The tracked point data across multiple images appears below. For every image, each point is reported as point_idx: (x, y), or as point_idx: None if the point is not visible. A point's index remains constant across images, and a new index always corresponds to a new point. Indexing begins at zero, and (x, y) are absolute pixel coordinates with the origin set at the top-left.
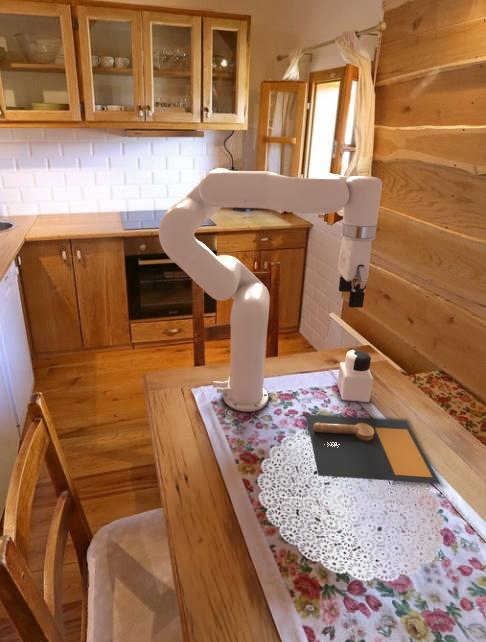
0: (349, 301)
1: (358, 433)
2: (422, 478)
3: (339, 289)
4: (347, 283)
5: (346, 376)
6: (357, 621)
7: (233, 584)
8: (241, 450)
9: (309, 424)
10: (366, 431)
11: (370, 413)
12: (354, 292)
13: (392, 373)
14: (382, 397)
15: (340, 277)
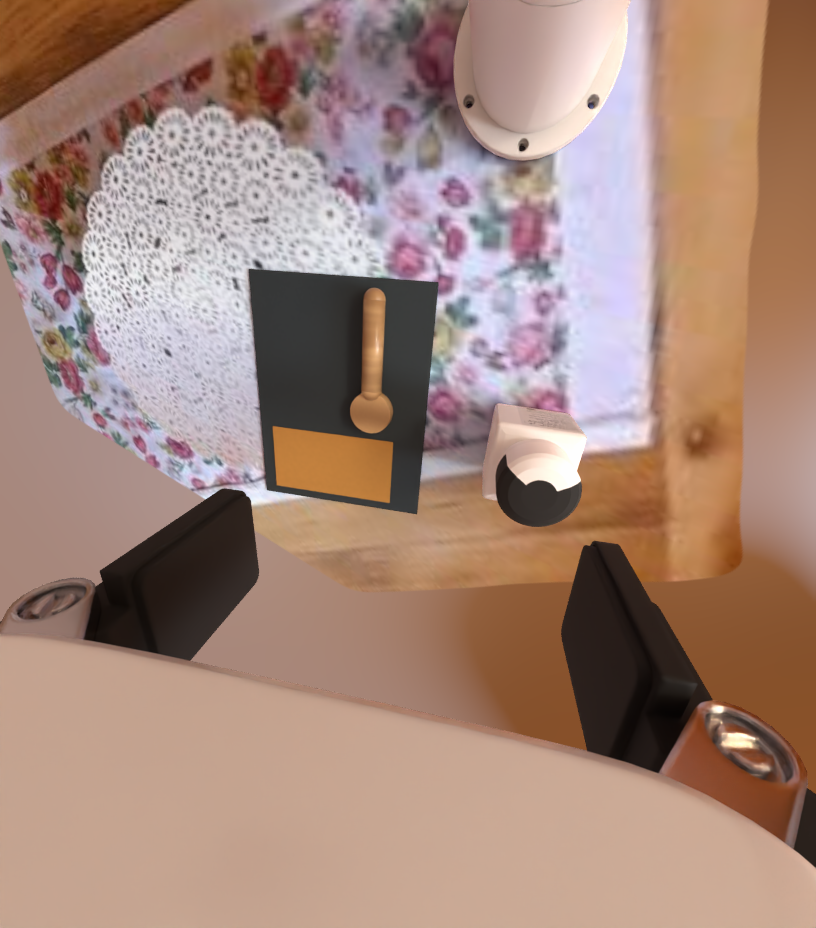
0: (197, 508)
1: (358, 395)
2: (273, 468)
3: (598, 550)
4: (591, 669)
5: (500, 427)
6: (33, 267)
7: (4, 44)
8: (296, 53)
9: (399, 284)
10: (363, 415)
11: (443, 453)
12: (108, 597)
13: None
14: None
15: (661, 668)
